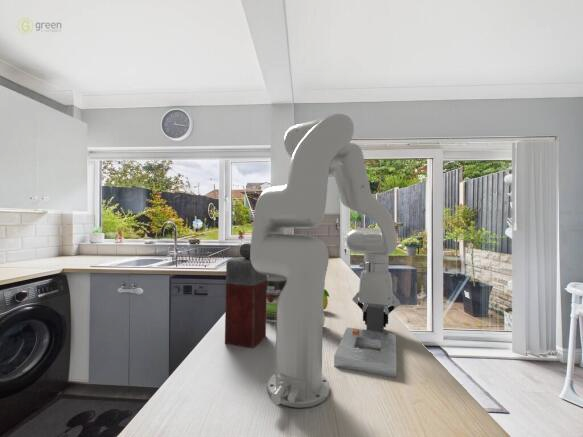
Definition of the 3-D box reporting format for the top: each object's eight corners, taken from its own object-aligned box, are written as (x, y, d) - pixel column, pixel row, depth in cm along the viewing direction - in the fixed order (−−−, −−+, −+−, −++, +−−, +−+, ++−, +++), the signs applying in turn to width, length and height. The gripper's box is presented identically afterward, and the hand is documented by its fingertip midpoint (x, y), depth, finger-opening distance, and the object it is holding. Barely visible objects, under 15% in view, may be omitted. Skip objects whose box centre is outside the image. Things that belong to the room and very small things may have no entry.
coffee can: (284, 323, 96) (285, 282, 96) (255, 320, 99) (256, 280, 99) (291, 314, 106) (292, 276, 106) (265, 311, 109) (266, 274, 109)
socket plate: (396, 377, 63) (396, 363, 63) (334, 366, 68) (334, 353, 68) (395, 342, 82) (395, 331, 82) (346, 335, 87) (346, 325, 87)
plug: (383, 335, 87) (383, 309, 87) (366, 333, 89) (366, 307, 89) (384, 326, 95) (384, 302, 96) (368, 324, 97) (369, 300, 97)
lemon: (329, 314, 106) (329, 287, 107) (313, 314, 107) (313, 287, 107) (327, 309, 113) (328, 284, 113) (313, 308, 113) (313, 283, 114)
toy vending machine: (269, 333, 87) (270, 242, 88) (253, 348, 77) (255, 244, 77) (243, 329, 90) (244, 241, 91) (224, 343, 80) (226, 243, 80)
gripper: (347, 267, 90) (346, 325, 90) (405, 271, 85) (404, 332, 84) (350, 264, 97) (350, 317, 97) (404, 267, 92) (403, 324, 91)
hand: (375, 324), depth 91 cm, fingers closed on plug, 5 cm apart
